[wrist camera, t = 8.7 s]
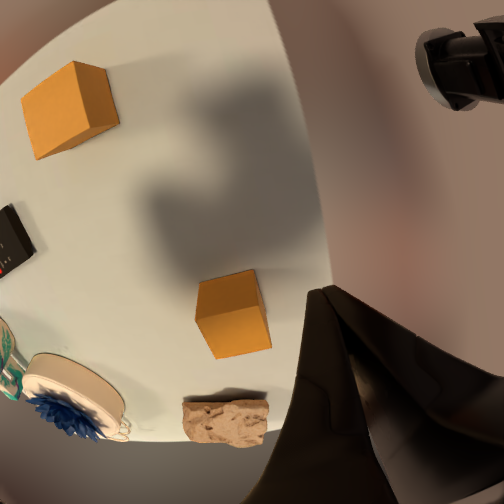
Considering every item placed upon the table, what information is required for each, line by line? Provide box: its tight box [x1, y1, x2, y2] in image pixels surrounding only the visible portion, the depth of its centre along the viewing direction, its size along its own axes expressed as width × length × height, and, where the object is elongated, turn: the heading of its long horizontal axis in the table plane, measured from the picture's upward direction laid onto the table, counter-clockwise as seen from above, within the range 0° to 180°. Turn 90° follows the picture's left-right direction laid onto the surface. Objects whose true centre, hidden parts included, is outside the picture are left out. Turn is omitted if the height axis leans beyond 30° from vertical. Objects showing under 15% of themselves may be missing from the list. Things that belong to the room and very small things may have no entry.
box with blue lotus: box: [22, 354, 131, 442], centre depth 27 cm, size 7×16×20 cm
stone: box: [182, 400, 269, 448], centre depth 29 cm, size 9×11×5 cm
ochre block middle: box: [195, 270, 272, 359], centre depth 21 cm, size 4×4×4 cm
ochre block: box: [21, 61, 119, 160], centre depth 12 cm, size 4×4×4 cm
